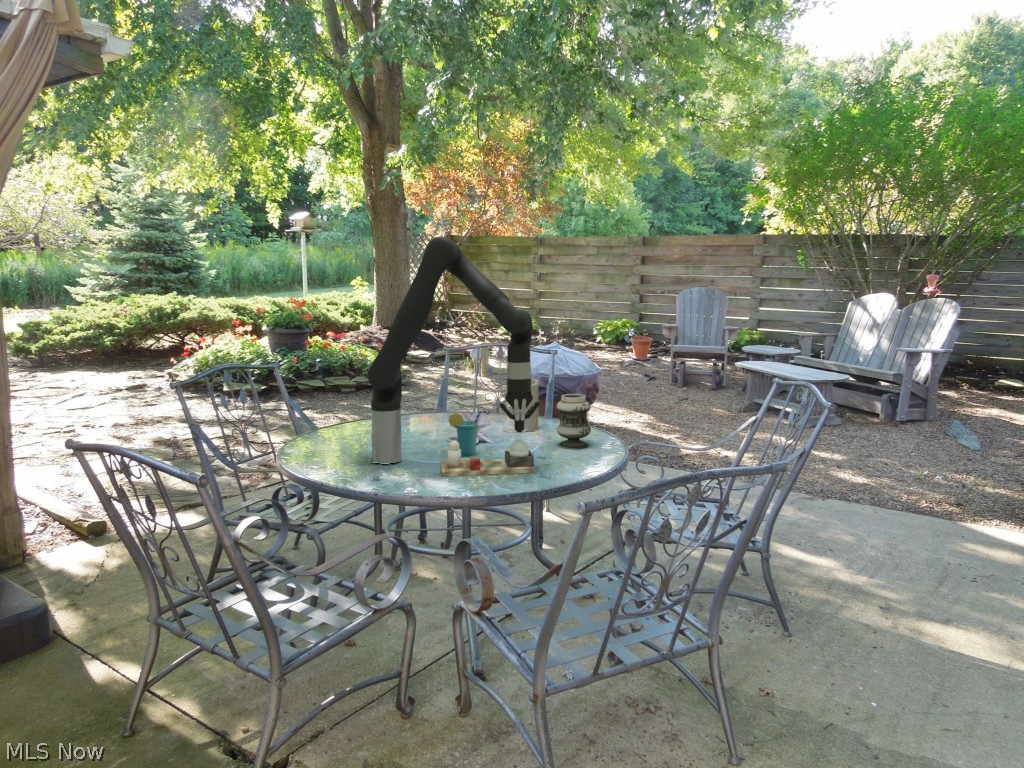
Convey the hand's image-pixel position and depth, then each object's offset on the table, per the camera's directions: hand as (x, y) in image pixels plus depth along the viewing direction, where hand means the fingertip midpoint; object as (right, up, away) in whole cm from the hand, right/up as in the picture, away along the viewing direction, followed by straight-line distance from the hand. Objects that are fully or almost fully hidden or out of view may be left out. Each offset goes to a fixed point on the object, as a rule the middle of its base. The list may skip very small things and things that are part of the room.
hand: (519, 431), depth 205 cm
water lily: (-16, -7, +35) cm, 39 cm away
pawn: (-20, -10, -1) cm, 22 cm away
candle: (+1, -3, +53) cm, 53 cm away
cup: (-16, -9, +18) cm, 26 cm away
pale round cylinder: (0, -8, +1) cm, 9 cm away
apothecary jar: (+19, -7, +30) cm, 36 cm away
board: (-10, -12, 0) cm, 15 cm away
